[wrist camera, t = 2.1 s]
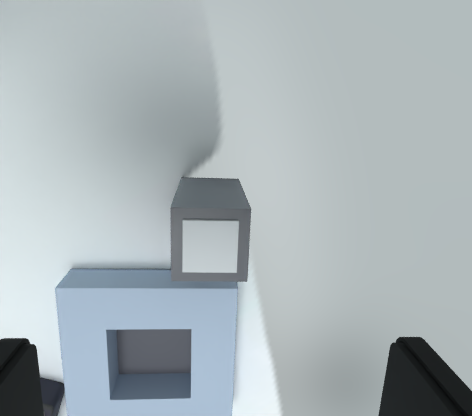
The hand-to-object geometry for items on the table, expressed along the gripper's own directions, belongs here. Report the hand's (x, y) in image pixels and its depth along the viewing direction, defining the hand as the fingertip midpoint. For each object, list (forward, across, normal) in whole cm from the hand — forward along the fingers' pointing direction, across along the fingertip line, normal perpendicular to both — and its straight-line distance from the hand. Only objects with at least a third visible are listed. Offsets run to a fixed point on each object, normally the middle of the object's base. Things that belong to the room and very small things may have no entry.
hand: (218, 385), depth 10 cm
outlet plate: (+18, +4, +11) cm, 21 cm away
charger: (+18, 0, 0) cm, 18 cm away
